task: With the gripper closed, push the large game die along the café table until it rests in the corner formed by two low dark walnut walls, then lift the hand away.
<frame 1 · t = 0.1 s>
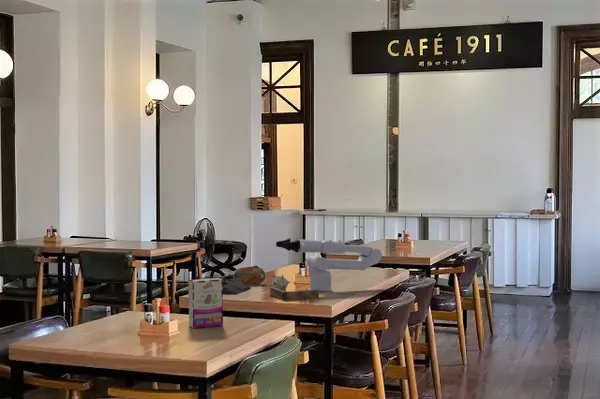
hand: (279, 244, 349), 22 cm above the table, tool horizontal, fingers open, 7 cm apart
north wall: (300, 299, 331), on the table
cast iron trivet: (229, 292, 354), on the table
game die: (279, 293, 349), on the table
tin: (249, 284, 375), on the table
candy bar box: (205, 326, 269), on the table
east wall: (278, 297, 334), on the table
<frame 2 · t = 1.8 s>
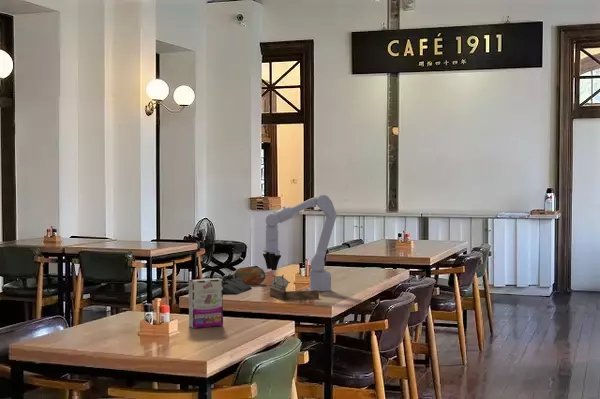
hand: (271, 269, 358), 9 cm above the table, tool pointing down, fingers open, 5 cm apart
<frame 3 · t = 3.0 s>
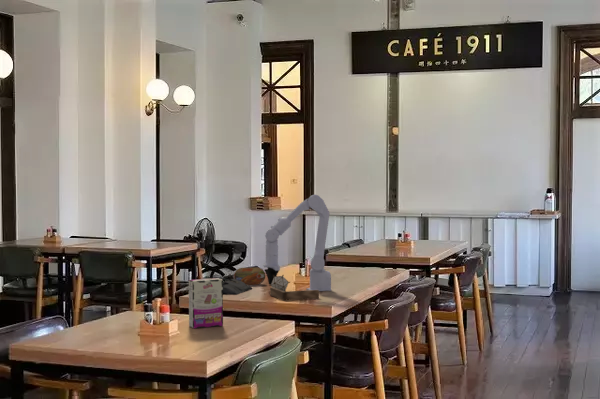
hand: (271, 284, 358), 2 cm above the table, tool pointing down, fingers closed
nothing on the table moved.
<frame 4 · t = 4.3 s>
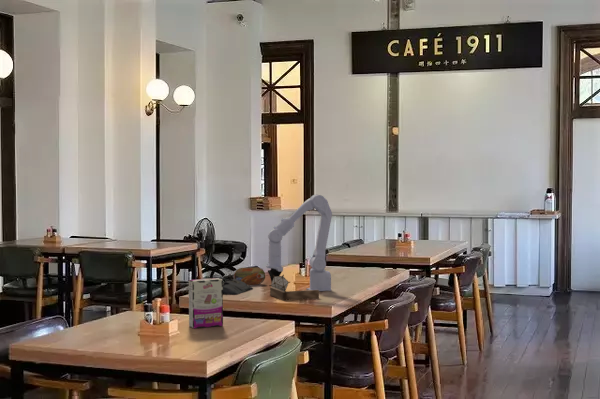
hand: (274, 285, 355), 2 cm above the table, tool pointing down, fingers closed
game die: (279, 293, 349), on the table, touching gripper
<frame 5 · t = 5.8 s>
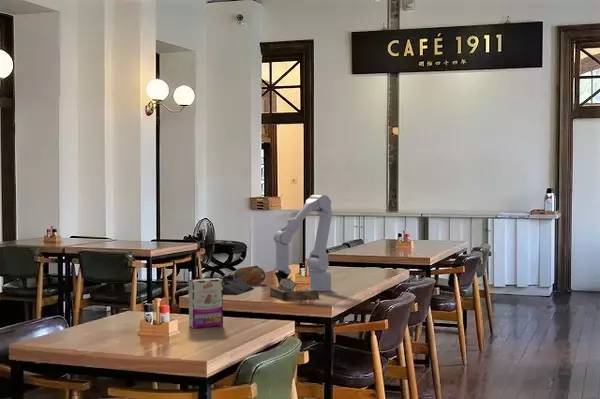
hand: (282, 288, 347), 2 cm above the table, tool pointing down, fingers closed
game die: (286, 295, 341), on the table, touching gripper
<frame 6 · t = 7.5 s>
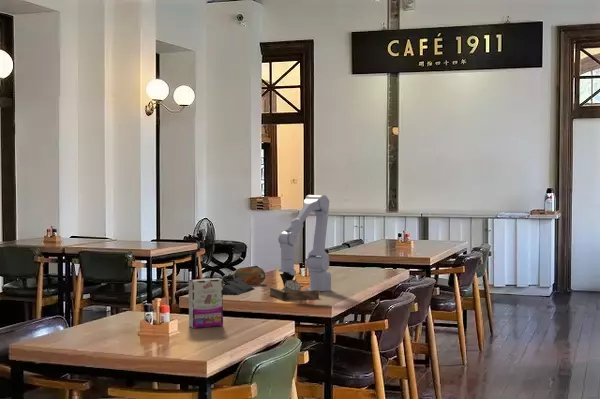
hand: (287, 289, 342), 2 cm above the table, tool pointing down, fingers closed
game die: (291, 297, 336), on the table, touching gripper
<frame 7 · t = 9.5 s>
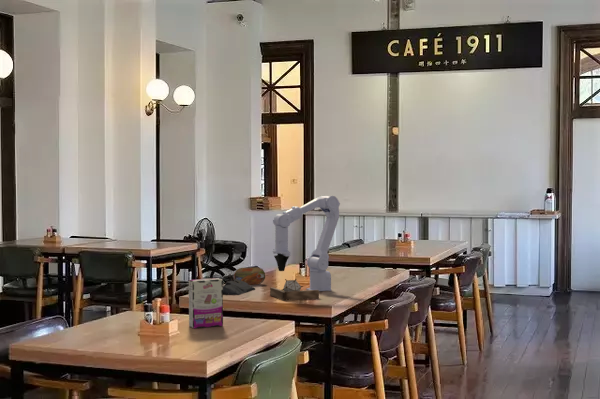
hand: (281, 271, 348), 10 cm above the table, tool pointing down, fingers closed
game die: (291, 297, 336), on the table
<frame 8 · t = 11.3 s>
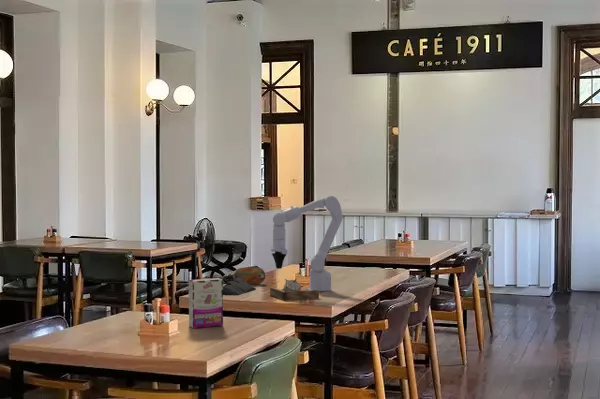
hand: (278, 268, 358), 10 cm above the table, tool pointing down, fingers closed
at the end: game die inside the target area (0.3 cm from its centre), on the table; game die tilted 0°; game die moved 14.6 cm from its start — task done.
